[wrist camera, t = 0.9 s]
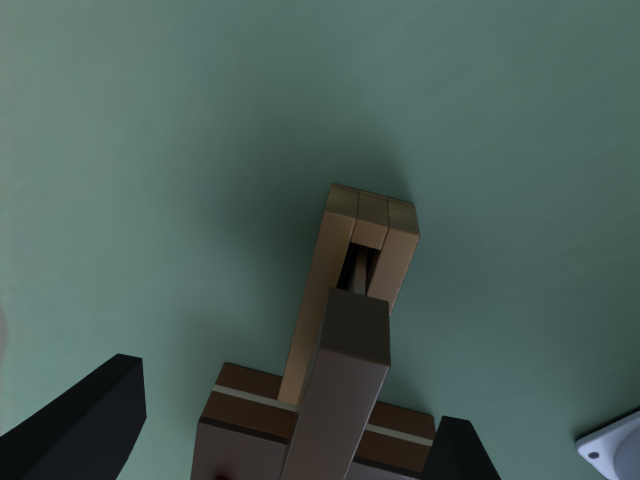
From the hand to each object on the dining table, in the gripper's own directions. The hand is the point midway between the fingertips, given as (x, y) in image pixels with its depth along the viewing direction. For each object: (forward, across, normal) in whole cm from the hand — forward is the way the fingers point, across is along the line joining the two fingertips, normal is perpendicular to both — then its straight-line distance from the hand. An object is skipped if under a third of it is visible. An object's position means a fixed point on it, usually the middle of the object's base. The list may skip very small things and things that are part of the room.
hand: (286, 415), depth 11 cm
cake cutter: (+10, -1, +3) cm, 11 cm away
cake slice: (+10, +3, +13) cm, 17 cm away
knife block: (+10, -1, +3) cm, 11 cm away
